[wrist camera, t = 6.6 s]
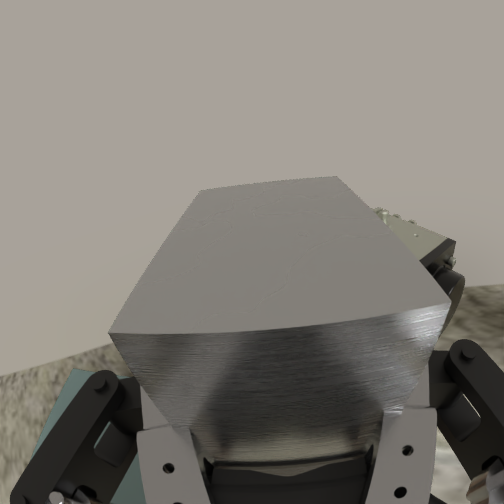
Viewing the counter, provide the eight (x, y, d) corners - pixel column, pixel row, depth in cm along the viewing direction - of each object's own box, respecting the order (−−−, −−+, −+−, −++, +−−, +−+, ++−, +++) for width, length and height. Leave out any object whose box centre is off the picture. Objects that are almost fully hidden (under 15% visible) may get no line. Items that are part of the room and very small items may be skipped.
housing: (329, 373, 14) (338, 175, 9) (348, 488, 8) (459, 304, 3) (243, 380, 15) (198, 190, 10) (235, 497, 8) (99, 337, 3)
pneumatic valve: (393, 409, 15) (452, 261, 9) (297, 326, 24) (291, 196, 19) (434, 366, 17) (483, 227, 11) (341, 301, 26) (345, 181, 21)
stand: (189, 399, 18) (179, 380, 17) (166, 519, 10) (149, 513, 8) (87, 386, 19) (73, 368, 18) (50, 476, 10) (29, 463, 9)
